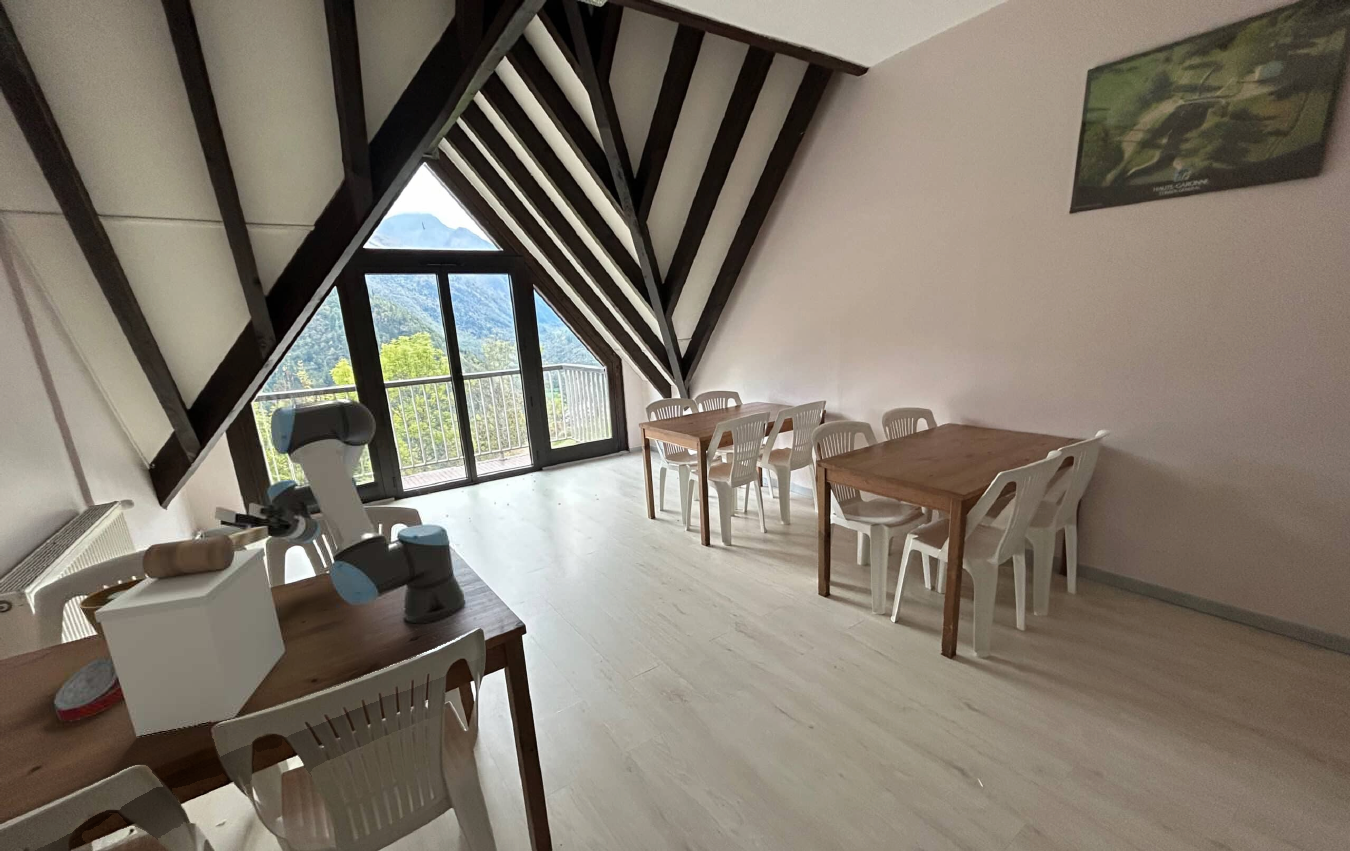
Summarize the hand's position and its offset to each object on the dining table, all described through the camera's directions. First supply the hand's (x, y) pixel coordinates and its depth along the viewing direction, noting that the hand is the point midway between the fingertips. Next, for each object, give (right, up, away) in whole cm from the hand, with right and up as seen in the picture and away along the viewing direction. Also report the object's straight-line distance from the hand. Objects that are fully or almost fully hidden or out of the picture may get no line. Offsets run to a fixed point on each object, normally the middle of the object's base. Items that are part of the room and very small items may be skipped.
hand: (234, 510), depth 122 cm
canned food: (-18, -39, -14) cm, 45 cm away
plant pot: (-27, -35, +5) cm, 45 cm away
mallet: (+2, -11, -5) cm, 12 cm away
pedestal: (+7, -37, -12) cm, 39 cm away
